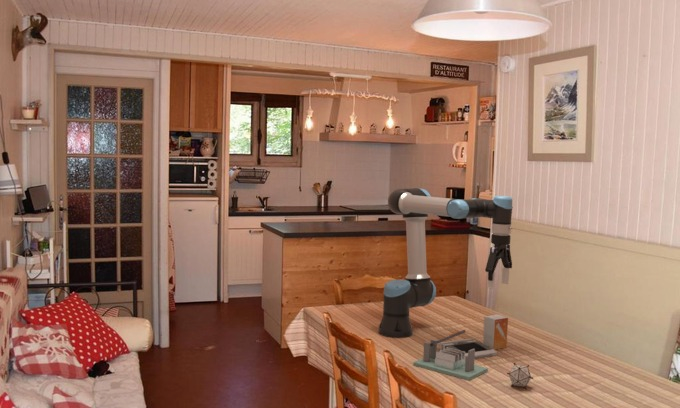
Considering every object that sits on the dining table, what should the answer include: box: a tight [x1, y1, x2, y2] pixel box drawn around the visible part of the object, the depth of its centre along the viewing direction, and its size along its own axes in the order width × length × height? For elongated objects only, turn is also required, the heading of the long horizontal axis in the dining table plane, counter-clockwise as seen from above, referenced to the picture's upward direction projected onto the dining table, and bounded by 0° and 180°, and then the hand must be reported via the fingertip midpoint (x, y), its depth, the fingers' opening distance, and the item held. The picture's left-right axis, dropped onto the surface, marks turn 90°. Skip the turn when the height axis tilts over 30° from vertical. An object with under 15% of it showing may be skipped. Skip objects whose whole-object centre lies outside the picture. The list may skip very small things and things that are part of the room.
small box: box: [482, 314, 509, 351], centre depth 280 cm, size 8×6×13 cm
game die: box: [506, 362, 534, 390], centre depth 233 cm, size 9×8×10 cm
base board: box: [412, 338, 489, 381], centre depth 250 cm, size 24×14×9 cm, turn 50°
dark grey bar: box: [430, 329, 466, 346], centre depth 252 cm, size 17×3×2 cm, turn 50°
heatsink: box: [435, 347, 465, 370], centre depth 251 cm, size 8×9×6 cm
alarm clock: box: [439, 337, 498, 360], centre depth 271 cm, size 17×5×16 cm
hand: (497, 286), depth 270 cm, fingers open, 13 cm apart
